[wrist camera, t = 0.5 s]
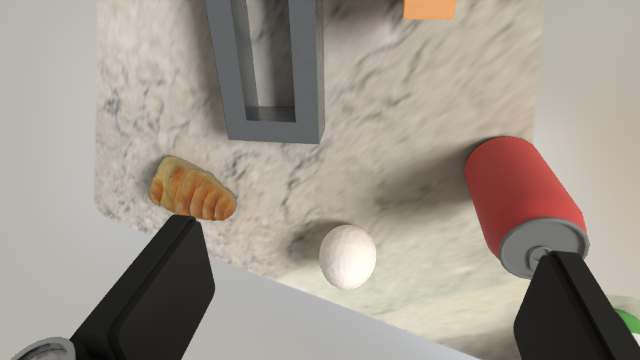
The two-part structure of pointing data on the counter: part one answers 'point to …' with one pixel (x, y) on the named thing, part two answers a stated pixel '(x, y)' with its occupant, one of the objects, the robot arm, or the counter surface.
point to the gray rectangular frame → (239, 76)
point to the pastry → (190, 191)
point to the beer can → (522, 205)
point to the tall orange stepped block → (428, 9)
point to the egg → (347, 256)
